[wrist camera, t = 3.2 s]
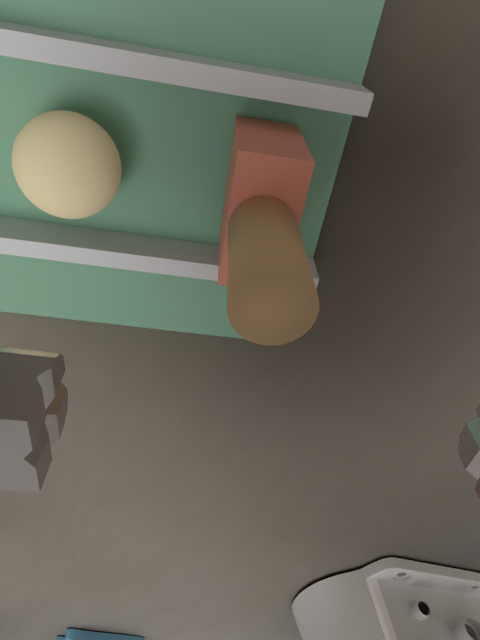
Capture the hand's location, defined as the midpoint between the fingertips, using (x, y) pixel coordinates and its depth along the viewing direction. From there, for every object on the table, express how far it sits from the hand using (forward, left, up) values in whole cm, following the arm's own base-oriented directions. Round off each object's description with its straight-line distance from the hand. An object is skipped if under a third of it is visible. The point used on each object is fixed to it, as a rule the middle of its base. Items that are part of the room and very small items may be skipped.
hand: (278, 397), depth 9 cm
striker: (0, 0, -14) cm, 14 cm away
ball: (+7, 0, -12) cm, 14 cm away
